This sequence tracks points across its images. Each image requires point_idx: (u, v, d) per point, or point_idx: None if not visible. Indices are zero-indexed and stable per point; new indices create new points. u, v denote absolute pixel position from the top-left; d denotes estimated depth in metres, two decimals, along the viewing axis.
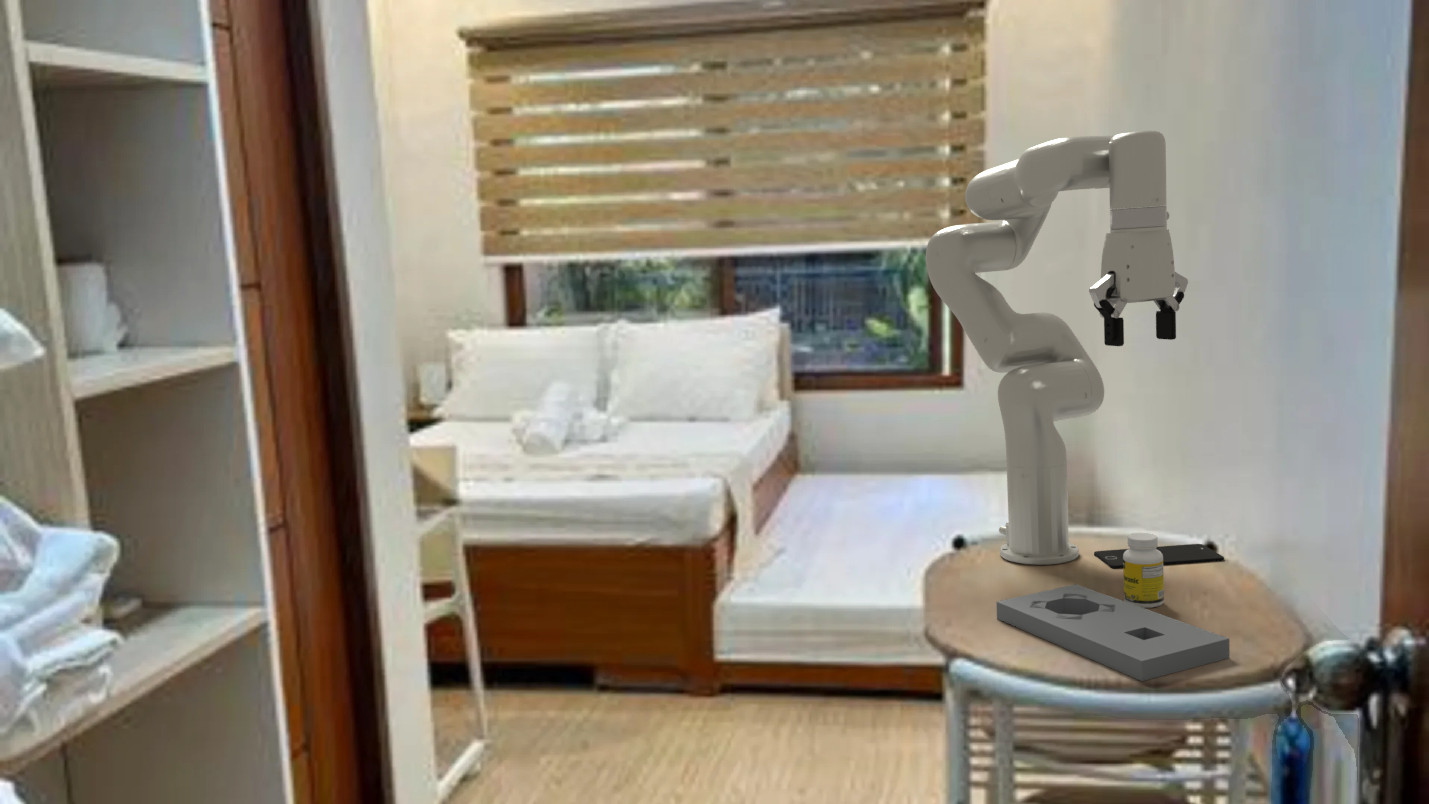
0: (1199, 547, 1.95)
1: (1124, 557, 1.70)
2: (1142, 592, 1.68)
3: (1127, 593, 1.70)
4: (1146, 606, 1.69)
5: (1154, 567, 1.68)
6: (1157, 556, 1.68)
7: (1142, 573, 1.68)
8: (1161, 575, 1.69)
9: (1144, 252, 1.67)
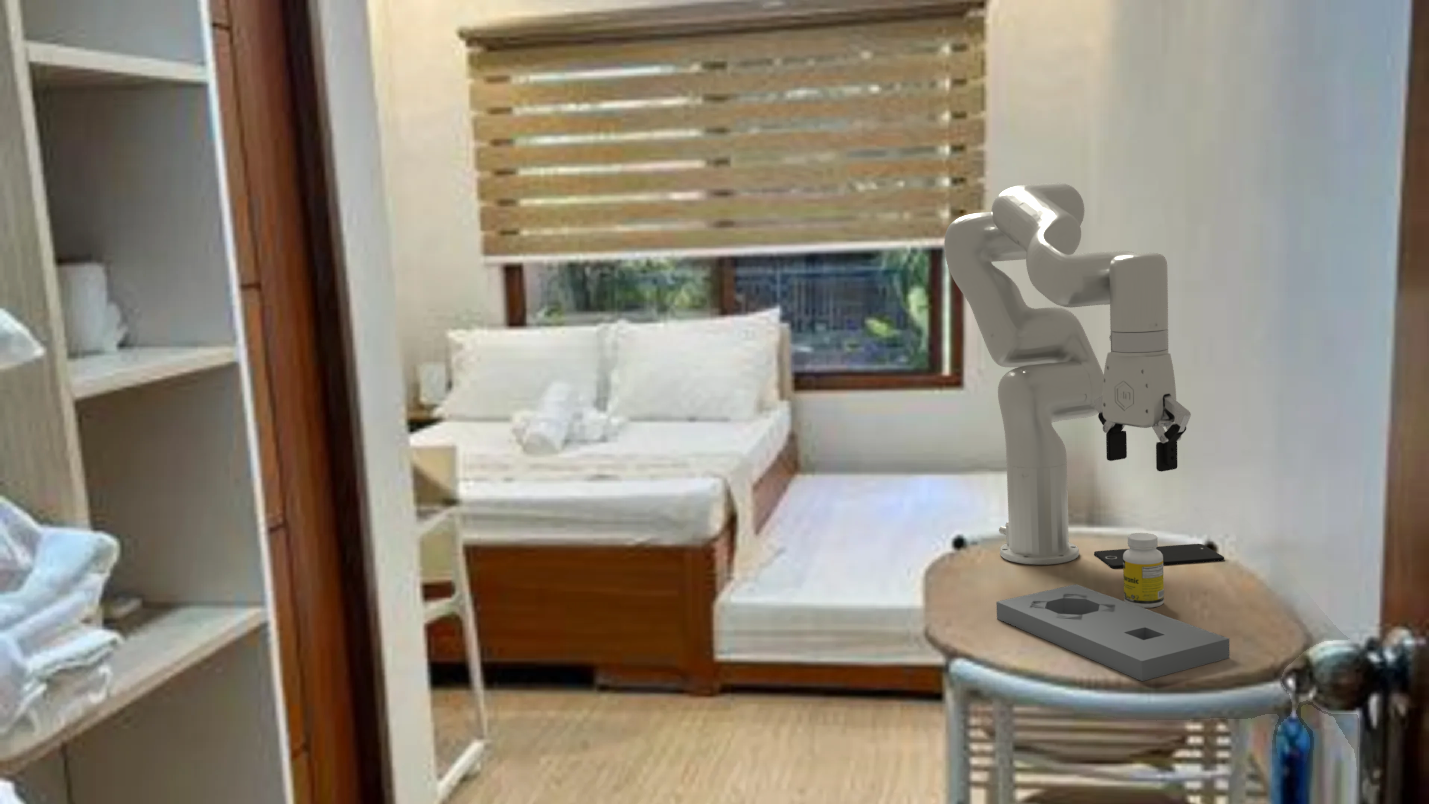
0: (1199, 547, 1.95)
1: (1124, 557, 1.70)
2: (1142, 592, 1.68)
3: (1127, 593, 1.70)
4: (1146, 606, 1.69)
5: (1154, 567, 1.68)
6: (1157, 556, 1.68)
7: (1142, 573, 1.68)
8: (1161, 575, 1.69)
9: None
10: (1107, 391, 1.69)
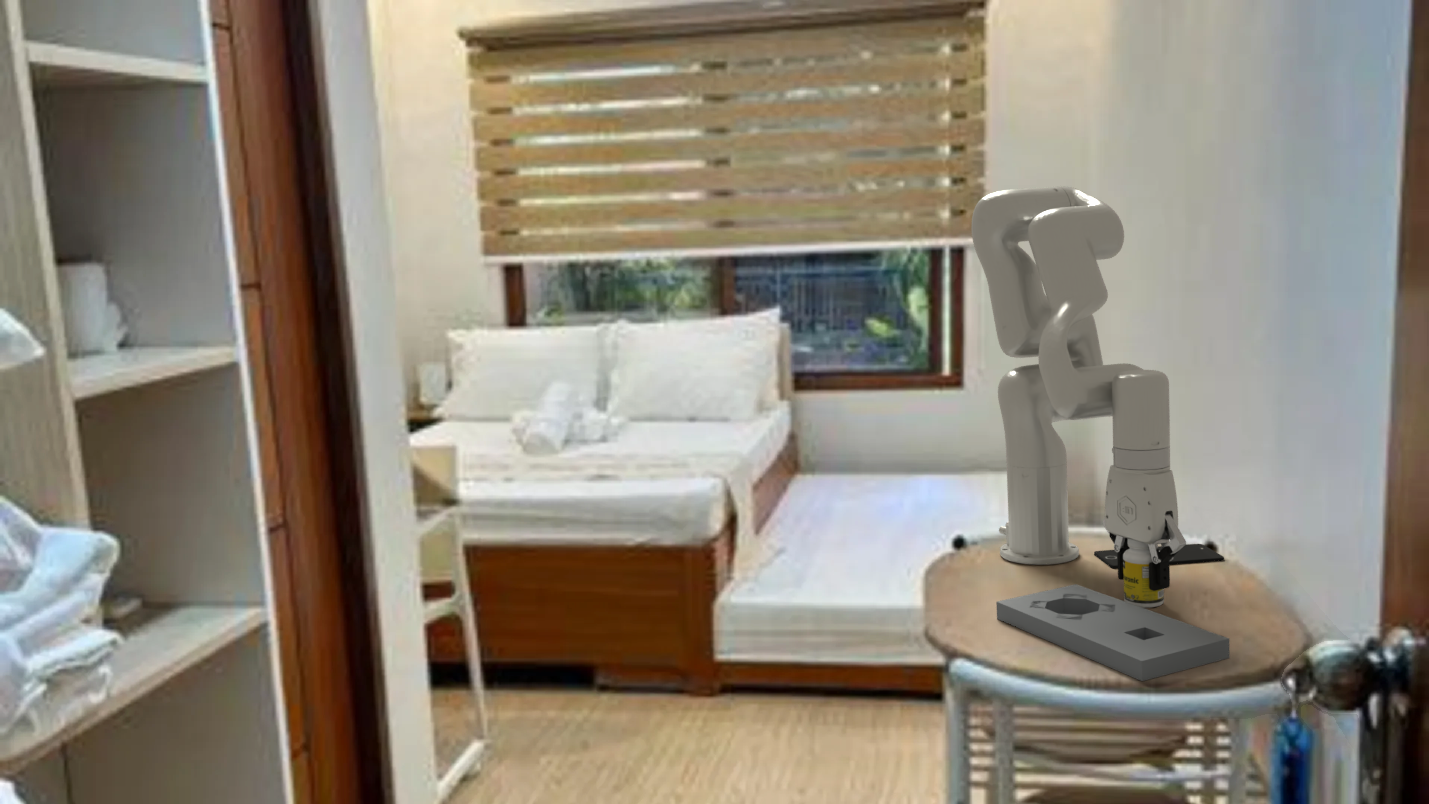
0: (1199, 547, 1.95)
1: (1124, 557, 1.70)
2: (1142, 591, 1.68)
3: (1127, 593, 1.70)
4: (1146, 606, 1.69)
5: None
6: None
7: (1142, 573, 1.68)
8: None
9: None
10: (1110, 504, 1.71)
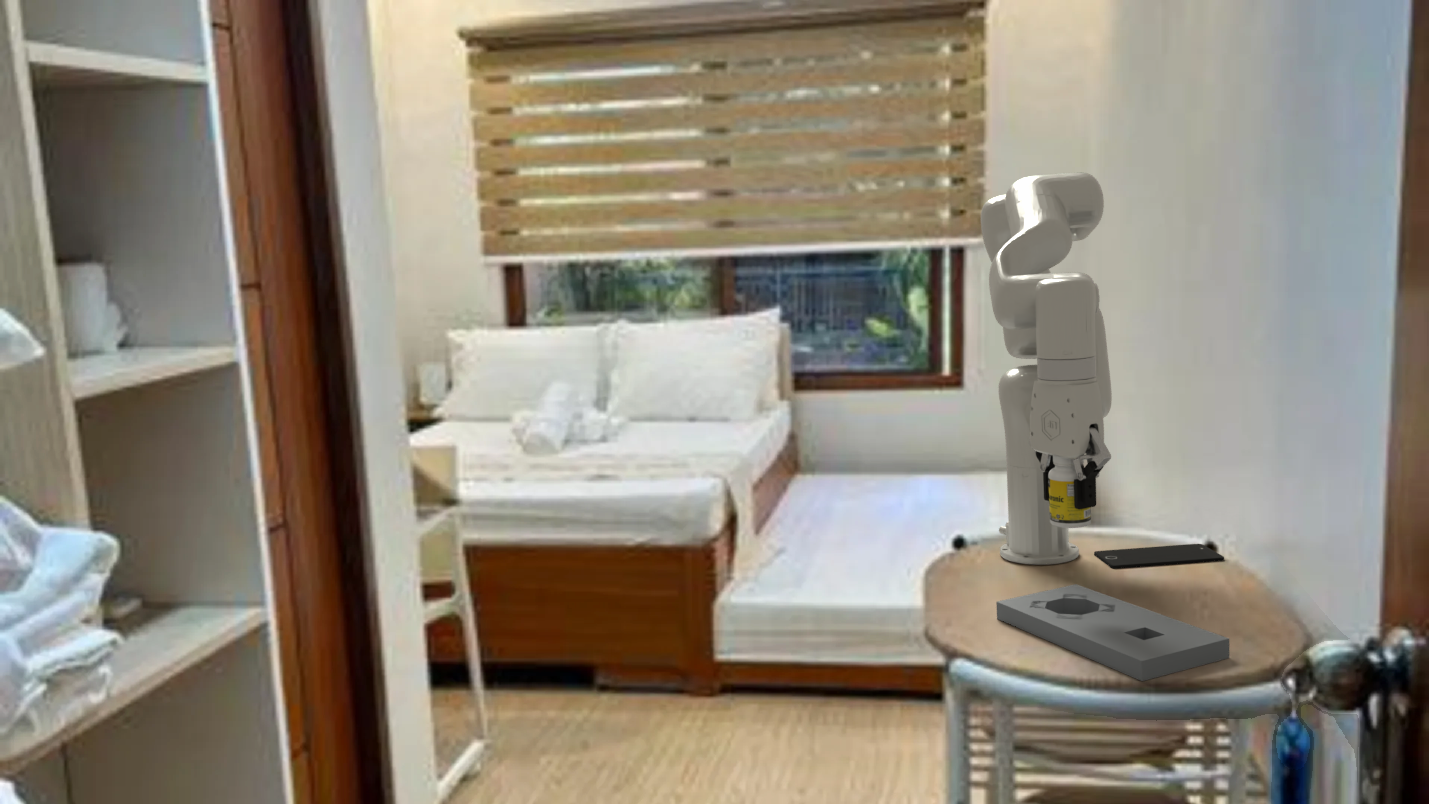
0: (1198, 547, 1.95)
1: (1049, 475, 1.61)
2: (1067, 511, 1.60)
3: (1052, 513, 1.61)
4: (1072, 526, 1.60)
5: None
6: None
7: (1067, 491, 1.59)
8: None
9: None
10: (1034, 420, 1.62)
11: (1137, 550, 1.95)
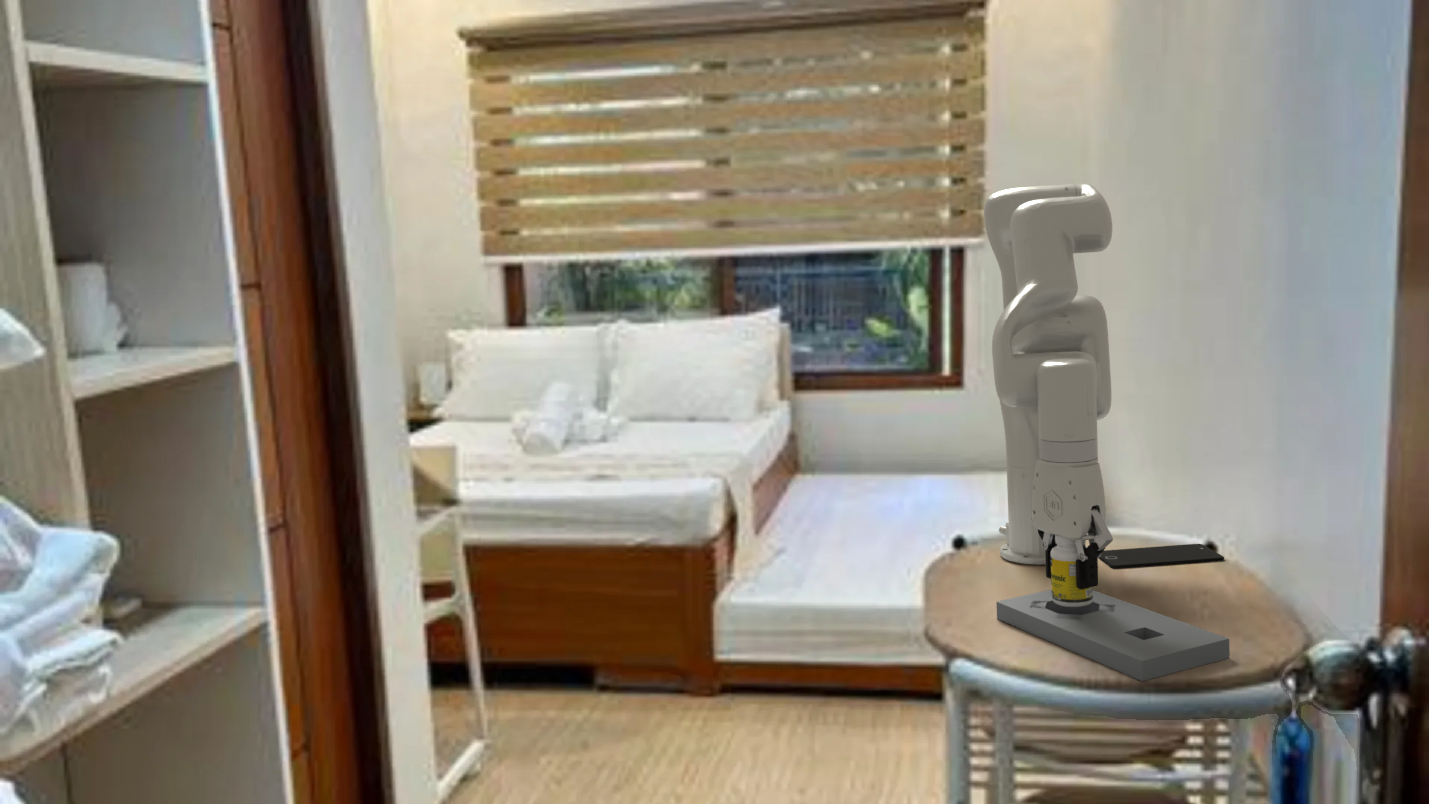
0: (1198, 547, 1.95)
1: (1051, 554, 1.63)
2: (1069, 590, 1.61)
3: (1054, 592, 1.63)
4: (1074, 605, 1.61)
5: None
6: None
7: (1069, 570, 1.60)
8: None
9: None
10: (1037, 499, 1.64)
11: (1137, 550, 1.95)
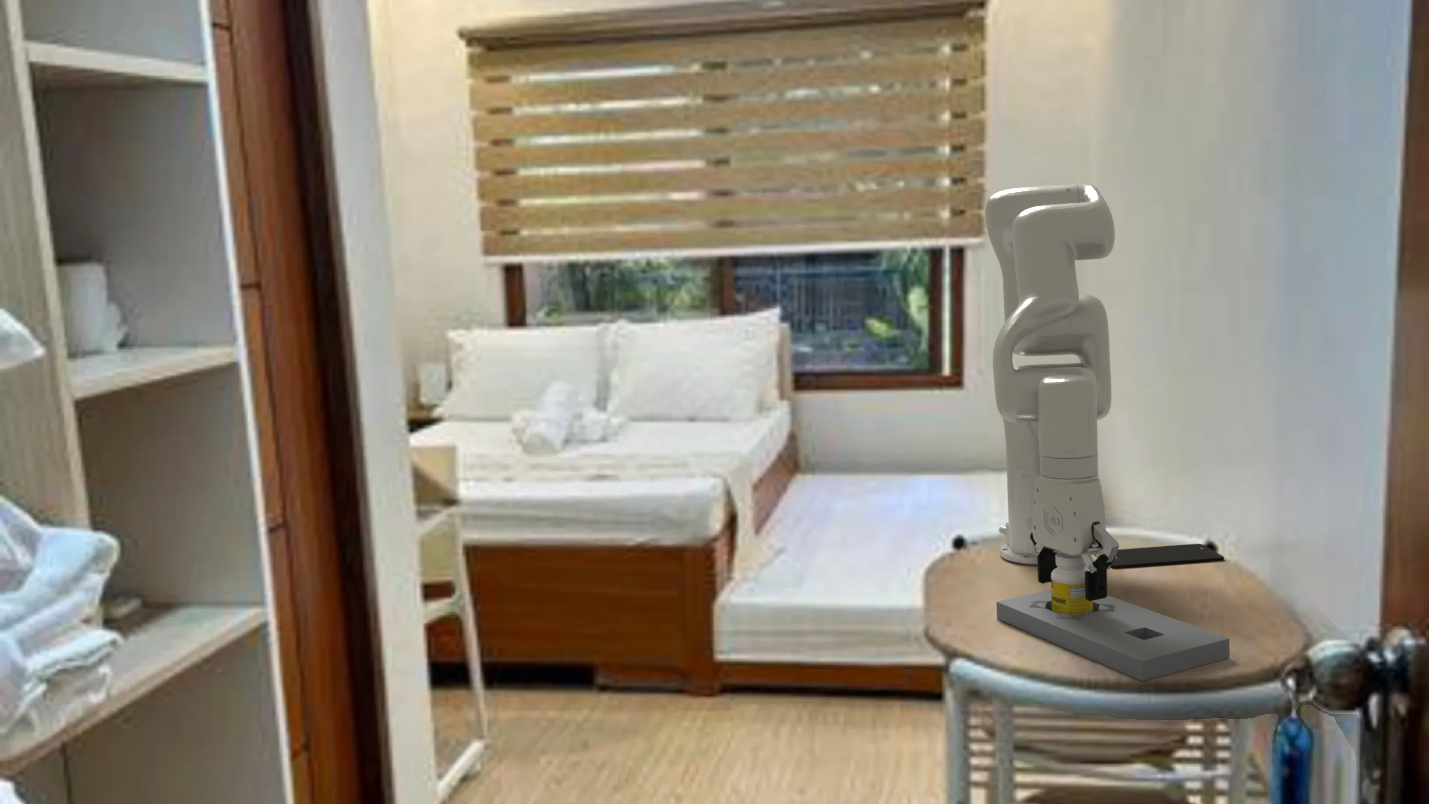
0: (1198, 547, 1.95)
1: (1052, 576, 1.63)
2: (1069, 612, 1.62)
3: None
4: None
5: (1082, 587, 1.61)
6: None
7: (1069, 593, 1.61)
8: None
9: None
10: (1037, 514, 1.64)
11: (1137, 550, 1.95)
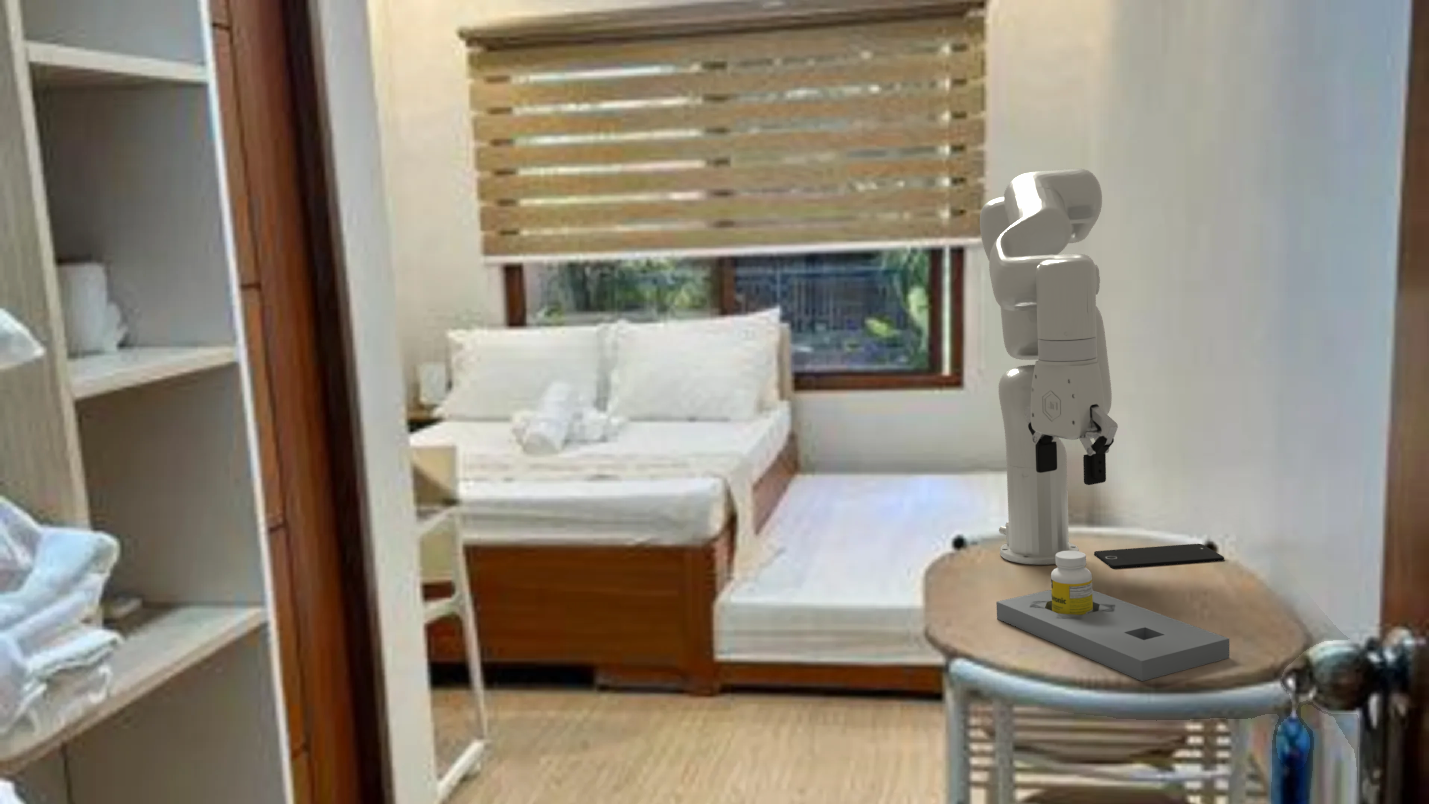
0: (1198, 547, 1.95)
1: (1052, 576, 1.63)
2: (1069, 612, 1.62)
3: None
4: None
5: (1082, 587, 1.61)
6: (1085, 576, 1.61)
7: (1069, 593, 1.61)
8: (1089, 595, 1.62)
9: None
10: (1035, 401, 1.63)
11: (1137, 550, 1.95)
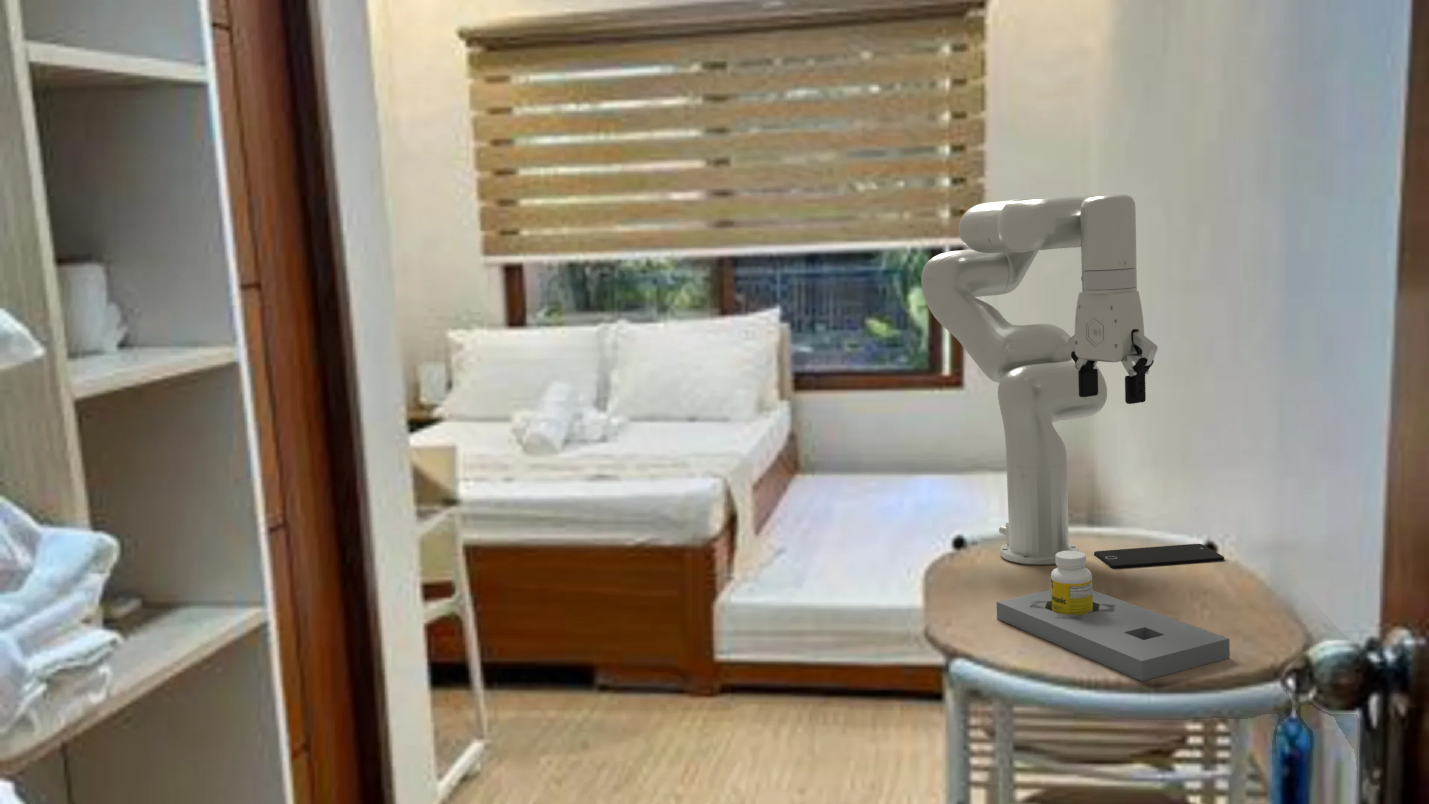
0: (1198, 547, 1.95)
1: (1052, 576, 1.63)
2: (1069, 612, 1.62)
3: None
4: None
5: (1082, 587, 1.61)
6: (1085, 576, 1.61)
7: (1069, 593, 1.61)
8: (1089, 595, 1.62)
9: None
10: (1079, 329, 1.76)
11: (1137, 550, 1.95)
